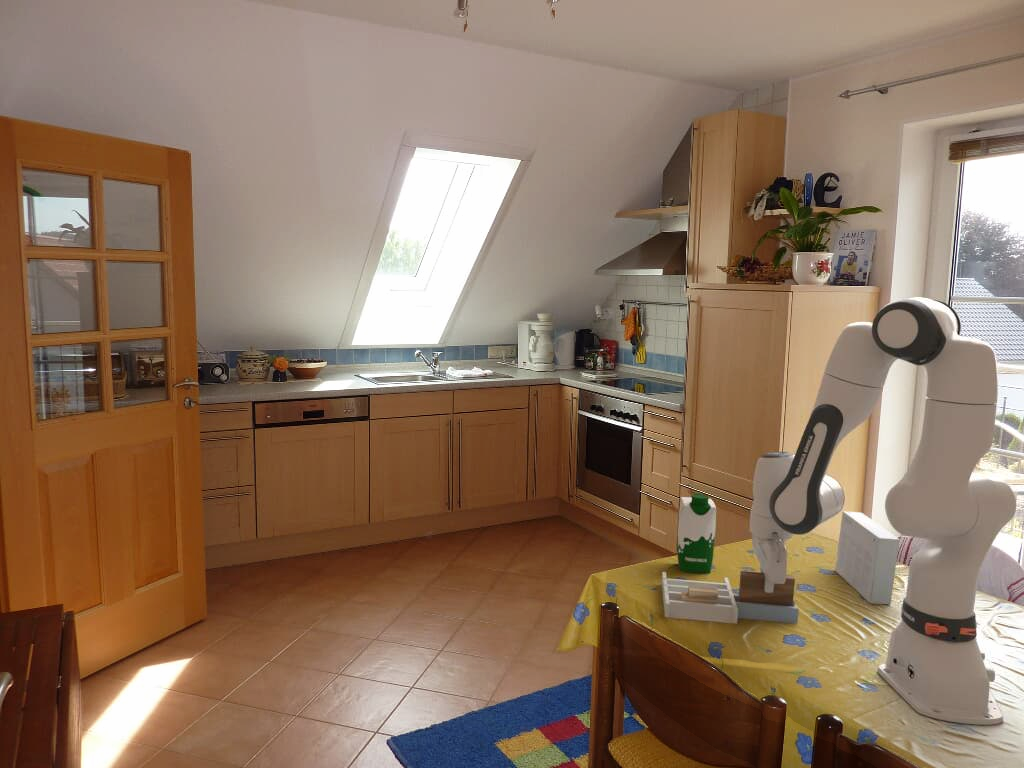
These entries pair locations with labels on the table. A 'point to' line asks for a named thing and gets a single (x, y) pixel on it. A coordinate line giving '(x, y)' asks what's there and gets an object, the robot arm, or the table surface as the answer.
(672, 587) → the rack
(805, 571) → the table surface
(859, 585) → the skincare box
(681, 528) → the milk carton
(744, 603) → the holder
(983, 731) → the table surface
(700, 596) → the offcut top
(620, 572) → the table surface
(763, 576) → the walnut sheet
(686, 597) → the offcut mid
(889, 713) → the table surface
